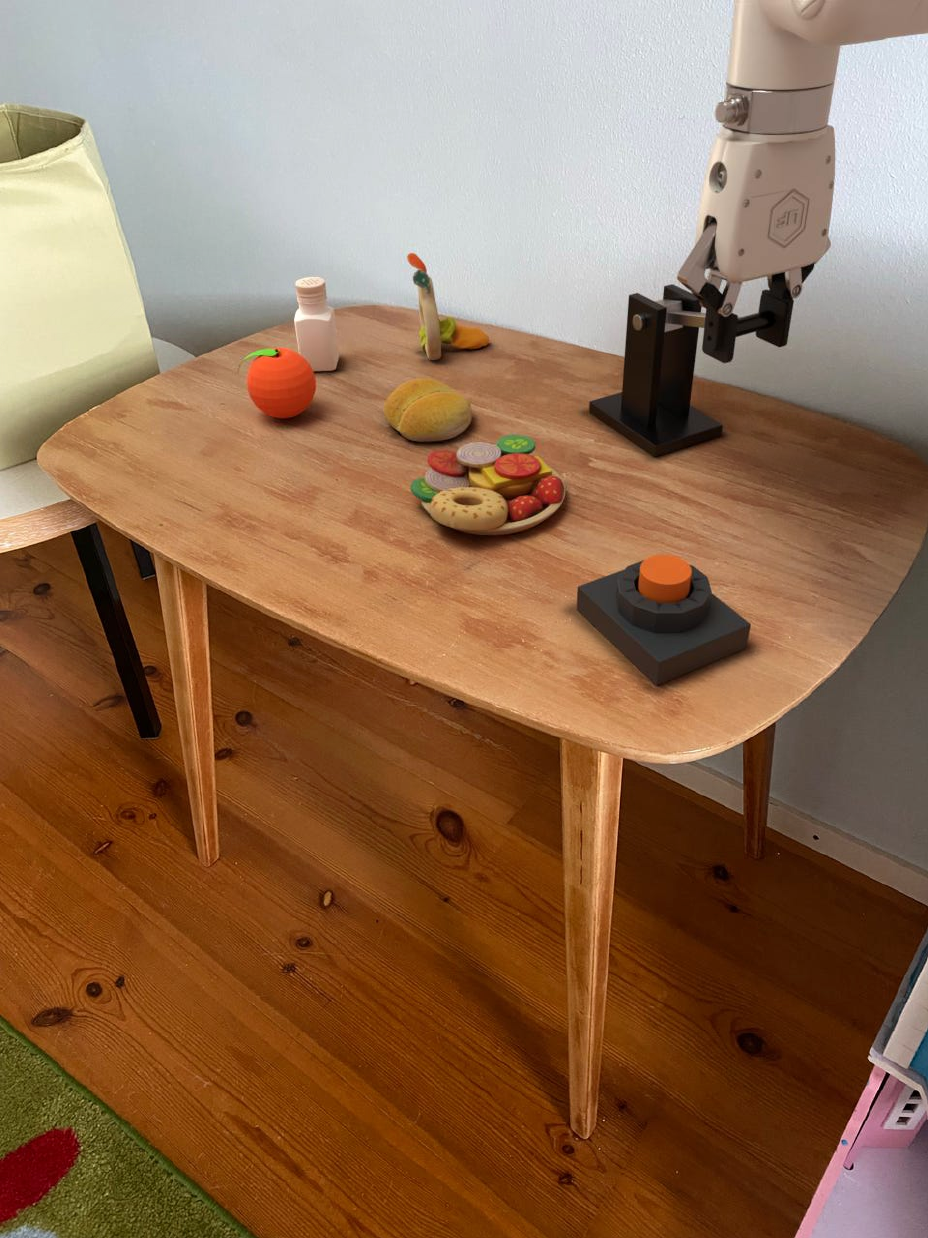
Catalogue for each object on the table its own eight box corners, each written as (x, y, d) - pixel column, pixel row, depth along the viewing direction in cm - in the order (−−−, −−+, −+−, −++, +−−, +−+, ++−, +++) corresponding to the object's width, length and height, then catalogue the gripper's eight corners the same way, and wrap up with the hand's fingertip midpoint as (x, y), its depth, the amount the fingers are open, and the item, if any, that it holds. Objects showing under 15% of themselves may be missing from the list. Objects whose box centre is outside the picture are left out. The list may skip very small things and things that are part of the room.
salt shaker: (336, 372, 109) (326, 287, 104) (300, 373, 110) (288, 288, 104) (340, 357, 113) (330, 274, 107) (306, 358, 113) (294, 275, 107)
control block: (746, 647, 71) (755, 603, 68) (656, 686, 68) (661, 641, 65) (661, 577, 78) (666, 535, 75) (576, 609, 75) (578, 566, 72)
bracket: (721, 435, 95) (740, 306, 87) (654, 457, 92) (667, 325, 84) (652, 392, 103) (663, 270, 95) (588, 411, 100) (594, 287, 92)
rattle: (483, 367, 109) (480, 263, 102) (410, 366, 110) (402, 262, 103) (490, 340, 115) (488, 240, 108) (421, 339, 116) (414, 239, 109)
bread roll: (419, 453, 94) (416, 415, 92) (373, 419, 100) (370, 382, 98) (490, 428, 98) (489, 391, 95) (442, 396, 104) (440, 360, 101)
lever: (775, 333, 82) (775, 304, 81) (728, 347, 81) (727, 317, 80) (676, 321, 93) (675, 295, 92) (633, 333, 91) (631, 307, 90)
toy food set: (445, 558, 81) (443, 524, 79) (394, 482, 90) (391, 451, 88) (590, 520, 84) (592, 487, 82) (526, 451, 94) (526, 420, 92)
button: (699, 594, 70) (702, 574, 69) (658, 610, 69) (660, 590, 67) (668, 568, 72) (670, 549, 71) (628, 583, 71) (629, 564, 70)
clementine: (233, 428, 100) (220, 362, 95) (255, 397, 105) (243, 333, 101) (309, 431, 99) (299, 365, 94) (327, 400, 104) (319, 335, 100)
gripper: (717, 135, 66) (691, 389, 77) (901, 101, 72) (852, 341, 83) (649, 118, 71) (634, 357, 82) (825, 87, 77) (789, 314, 88)
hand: (744, 347), depth 83 cm, fingers closed on lever, 5 cm apart
